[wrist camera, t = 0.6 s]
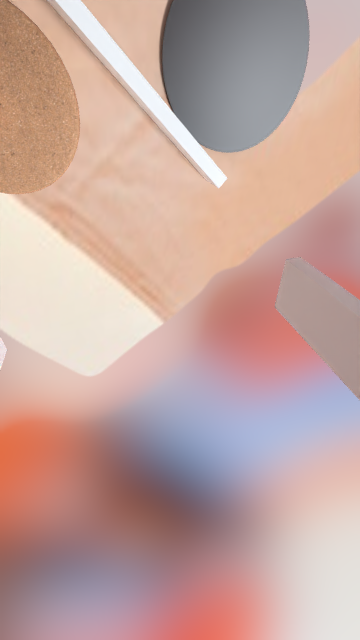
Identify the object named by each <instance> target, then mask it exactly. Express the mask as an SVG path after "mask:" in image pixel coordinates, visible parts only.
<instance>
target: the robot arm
mask: <svg viewBox="0 0 360 640" xmlns="http://www.w3.org/2000/svg"><path fill="white" fill-rule="evenodd" d="M275 308H276V309H277V310H278V311H279V312H280V313H281V314H282V316H283V317H284V318H285V319H286V320H287V321H288V322H289V323H290V324H291V326H292V327H293V328H294V329H295V330H296V331H297V332H298V333H299V334H300V335H301V336H302V338H303V339H304V340H305V341H306V342H307V343H308V344H309V345H310V346H311V347H312V348H313V349H314V351H315V352H316V353H317V354H318V355H319V356H320V357H321V358H322V359H323V361H325V363H326V364H327V365H328V366H329V367H330V368H331V369H332V370H333V372H334V373H335V374H336V375H337V376H338V377H339V378H340V379H341V380H342V381H343V383H344V384H345V385H346V386H347V387H348V388H349V389H350V390H351V391H352V392H353V393H354V395H355V396H356V397H357V398H358V399H359V400H360V300H359V299H358V298H356V297H355V296H353V295H352V294H351V293H349V292H348V291H346V290H345V289H344V288H342V287H341V286H339V285H338V284H337V283H335V282H334V281H333V280H331V279H330V278H328V277H327V276H326V275H324V274H323V273H322V272H320V271H319V270H317V269H316V268H315V267H313V266H312V265H310V264H309V263H308V262H306V261H305V260H304V259H302V258H301V257H300V258H291V259H286V262H285V266H284V270H283V275H282V279H281V283H280V287H279V291H278V295H277V299H276V303H275ZM6 352H7V349H6V347H5V345H4V343H3V341H2V339H1V337H0V369H1V366H2V363H3V360H4V357H5V355H6Z"/></svg>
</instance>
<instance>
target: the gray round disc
mask: <svg viewBox="0 0 360 640" xmlns="http://www.w3.org/2000/svg"><path fill="white" fill-rule="evenodd" d="M308 51H309V20H308V11H307V6H306V2H305V0H173V2H172V4H171V7H170V11H169V14H168V17H167V21H166V26H165V31H164V38H163V48H162V66H163V77H164V83H165V88H166V92H167V95H168V99H169V102H170V105H171V107H172V109H173V112H174V114H175V115H176V117H177V118H178V119H179V120H180V122H181V123H182V124H183V125H184V126H185V128H186V129H187V130H188V131H189V132H190V134H191V135H192V136H193V137H194V139H195V140H196V141H197V142H198V143H199V144H201V145H203V146H205V147H206V148H209V149H212V150H214V151H219V152H239V151H242V150H246V149H249V148H251V147H253V146H255V145H257V144H258V143H260V142H261V141H263V140H264V139H265V138H267V137H268V136H269V135H270V134H271V133H272V132H273V131H274V130H275V129H276V128H277V127H278V126H279V125H280V123H281V122H282V121H283V120H284V118H285V117H286V115H287V114H288V112H289V110H290V109H291V107H292V105H293V103H294V101H295V99H296V97H297V94H298V92H299V89H300V86H301V84H302V80H303V77H304V73H305V69H306V64H307V58H308Z"/></svg>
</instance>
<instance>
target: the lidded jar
mask: <svg viewBox="0 0 360 640" xmlns="http://www.w3.org/2000/svg"><path fill="white" fill-rule="evenodd" d="M79 132H80V118H79V107H78V103H77V98H76V94H75V90H74V88H73V85H72V82H71V79H70V76H69V74H68V72H67V70H66V68H65V66H64V64H63V62H62V60H61V58H60V57H59V55H58V53H57V52H56V50H55V49H54V47H53V46H52V44H51V42H50V41H49V40H48V39H47V37H46V36H45V35H44V34H43V33H42V31H41V30H40V29H39V28H38V26H37V25H36V24H35V23H34V22H33V21H32V20H31V19H30V18H29V17H28V16H27V15H26V14H25V13H23V12H22V11H21V10H20V9H18V8H17V7H16V6H15V5H13V4H12V3H11V2H9V1H8V0H0V192H1V193H6V194H24V193H31V192H35V191H38V190H41V189H43V188H45V187H47V186H49V185H51V184H52V183H54V182H55V181H56V180H58V179H59V178H60V177H61V176H62V175H63V173H64V172H65V171H66V170H67V168H68V167H69V165H70V163H71V162H72V160H73V157H74V155H75V152H76V149H77V145H78V140H79Z"/></svg>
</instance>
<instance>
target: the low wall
mask: <svg viewBox="0 0 360 640" xmlns="http://www.w3.org/2000/svg"><path fill="white" fill-rule="evenodd" d="M47 1H48V2H49V3H50V4H51V6H52V7H53V8H54V9H55V10H56V11H57V12H58V13H59V15H60V16H61V17H62V18H63V19H64V20H65V21H66V22H67V24H68V25H69V26H70V27H71V28H72V29H73V30H74V32H75V33H76V34H77V35H78V36H79V37H80V38H81V39H82V41H83V42H84V43H85V44H86V45H87V46H88V47H89V48H90V50H91V51H92V52H93V53H94V54H95V55H96V56H97V58H98V59H99V60H100V61H101V62H102V63H103V64H104V65H105V67H106V68H107V69H108V70H109V71H110V72H111V73H112V74H113V76H114V77H115V78H116V79H117V80H118V81H119V82H120V84H121V85H122V86H123V87H124V88H125V89H126V90H127V91H128V93H129V94H130V95H131V96H132V97H133V98H134V99H135V100H136V102H137V103H138V104H139V105H140V106H141V107H142V108H143V110H144V111H145V112H146V113H147V114H148V115H149V116H150V117H151V119H152V120H153V121H154V122H155V123H156V124H157V125H158V126H159V128H160V129H161V130H162V131H163V132H164V133H165V134H166V136H167V137H168V138H169V139H170V140H171V141H172V142H173V143H174V145H175V146H176V147H177V148H178V149H179V150H180V151H181V152H182V154H183V155H184V156H185V157H186V158H187V159H188V160H189V162H190V163H191V164H192V165H193V166H194V167H195V168H196V169H197V171H198V172H199V173H200V174H201V175H202V176H203V177H204V178H205V180H206V181H208V182H209V183H211V184H213V185H214V186H216V187H217V188H219V187H220V186H221V185H222V184H223V183H224V182H225V181H226V179H227V177H226V176H225V175H224V174H223V173H222V171H221V170H220V169H219V168H218V166H217V165H216V164H215V163H214V162H213V160H212V159H211V158H210V157H209V156H208V154H207V153H206V152H205V151H204V149H203V148H202V147H201V146H200V145H199V143H198V142H197V141H196V140H195V139H194V137H193V136H192V135H191V134H190V132H189V131H188V130H187V129H186V128H185V126H184V125H183V124H182V123H181V122H180V120H179V119H178V118H177V117H176V115H175V114H174V113H173V112H172V111H171V109H170V108H169V107H168V106H167V105H166V103H165V102H164V101H163V100H162V98H161V97H160V96H159V95H158V94H157V92H156V91H155V90H154V89H153V88H152V86H151V85H150V84H149V83H148V81H147V80H146V79H145V78H144V77H143V75H142V74H141V73H140V72H139V70H138V69H137V68H136V67H135V66H134V64H133V63H132V62H131V61H130V60H129V58H128V57H127V56H126V55H125V53H124V52H123V51H122V50H121V49H120V47H119V46H118V45H117V44H116V43H115V41H114V40H113V39H112V38H111V36H110V35H109V34H108V33H107V32H106V30H105V29H104V28H103V27H102V26H101V24H100V23H99V22H98V21H97V19H96V18H95V17H94V16H93V15H92V13H91V12H90V11H89V10H88V9H87V7H86V6H85V5H84V4H83V2H82V1H81V0H47Z"/></svg>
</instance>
